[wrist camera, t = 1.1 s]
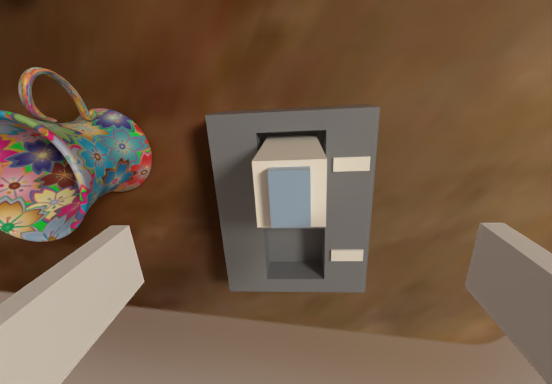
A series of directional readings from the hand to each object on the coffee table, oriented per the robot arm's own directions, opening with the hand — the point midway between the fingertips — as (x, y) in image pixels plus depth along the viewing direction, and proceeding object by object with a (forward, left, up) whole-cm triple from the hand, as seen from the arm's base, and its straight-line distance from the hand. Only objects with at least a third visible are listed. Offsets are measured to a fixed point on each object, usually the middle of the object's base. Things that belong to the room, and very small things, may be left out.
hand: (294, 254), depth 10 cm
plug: (0, 0, -16) cm, 16 cm away
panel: (0, -4, -17) cm, 18 cm away
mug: (-18, +3, -18) cm, 25 cm away
